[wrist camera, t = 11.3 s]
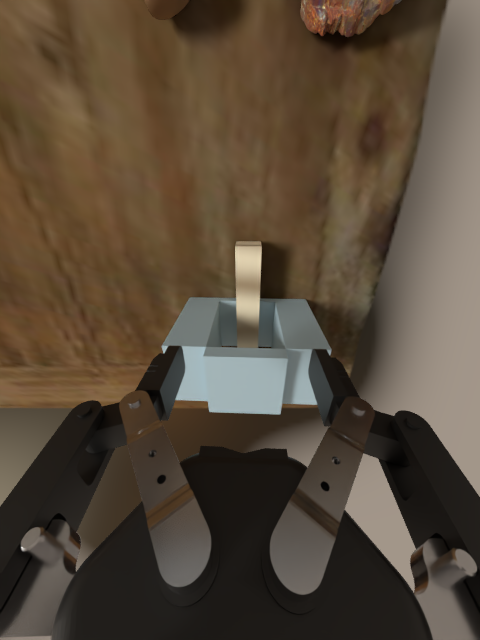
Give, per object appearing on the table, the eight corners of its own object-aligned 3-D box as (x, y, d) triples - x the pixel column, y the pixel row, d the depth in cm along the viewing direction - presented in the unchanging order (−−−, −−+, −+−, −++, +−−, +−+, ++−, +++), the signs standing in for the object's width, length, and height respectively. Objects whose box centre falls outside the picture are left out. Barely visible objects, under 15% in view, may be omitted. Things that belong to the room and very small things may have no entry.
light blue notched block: (189, 297, 33) (156, 355, 21) (305, 299, 32) (336, 359, 21) (195, 341, 37) (169, 410, 25) (298, 343, 36) (321, 415, 25)
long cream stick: (236, 241, 28) (235, 246, 25) (260, 241, 28) (261, 246, 25) (238, 372, 39) (238, 385, 36) (256, 373, 39) (256, 386, 36)
